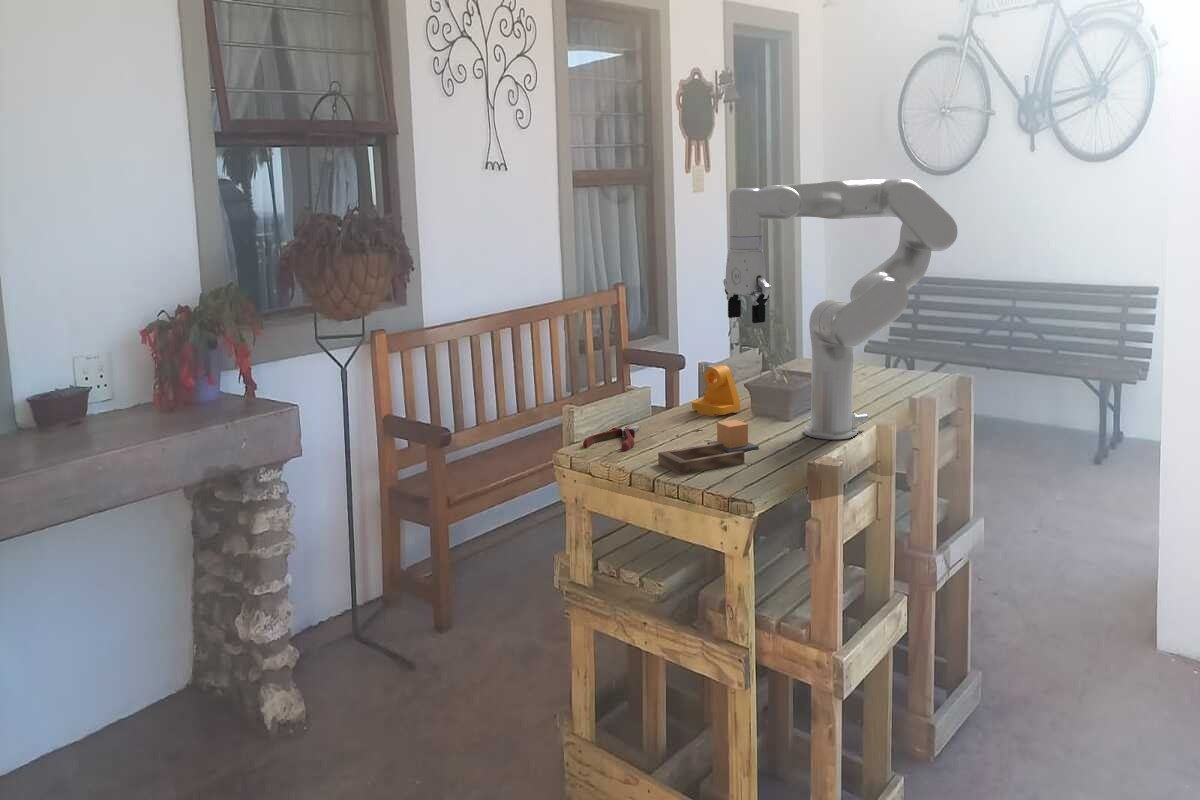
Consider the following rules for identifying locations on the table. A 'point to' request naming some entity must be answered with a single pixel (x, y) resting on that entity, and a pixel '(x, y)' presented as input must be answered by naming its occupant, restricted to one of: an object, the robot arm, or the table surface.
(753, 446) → the rubber mat
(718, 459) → the brown wooden tray
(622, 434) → the pliers
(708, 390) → the bracket
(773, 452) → the table surface
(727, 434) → the orange block
